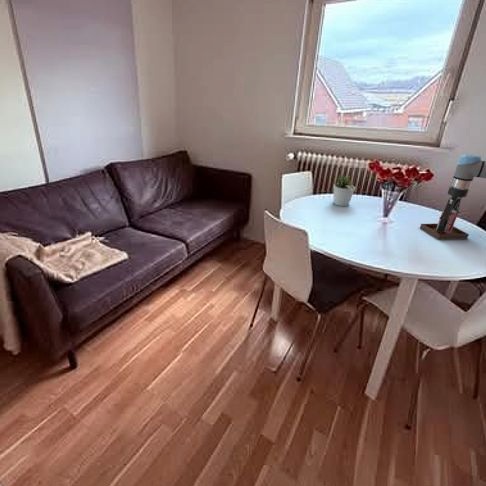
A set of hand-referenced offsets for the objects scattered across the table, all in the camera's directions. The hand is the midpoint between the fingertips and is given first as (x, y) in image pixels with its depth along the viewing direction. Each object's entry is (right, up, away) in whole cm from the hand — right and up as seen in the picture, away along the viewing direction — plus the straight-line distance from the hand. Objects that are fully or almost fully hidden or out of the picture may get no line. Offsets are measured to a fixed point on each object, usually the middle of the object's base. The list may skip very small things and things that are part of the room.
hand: (444, 228), depth 157 cm
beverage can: (0, -2, +1) cm, 3 cm away
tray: (0, -3, +1) cm, 3 cm away
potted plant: (-37, +15, +39) cm, 56 cm away
